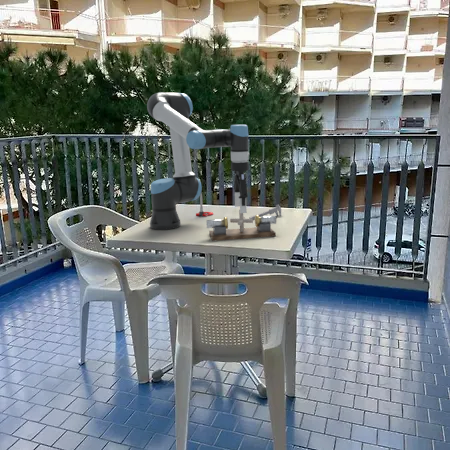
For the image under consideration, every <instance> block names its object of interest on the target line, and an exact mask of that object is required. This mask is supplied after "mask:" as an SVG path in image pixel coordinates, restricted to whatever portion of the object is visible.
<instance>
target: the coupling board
mask: <svg viewBox="0 0 450 450" xmlns="http://www.w3.org/2000/svg"><path fill="white" fill-rule="evenodd" d="M208 231H209V236H210V238H211V241H212V242H213V241H214V242H215V240H216V241H223V240H224V241H226V240H228V241H229V240H238V239H239V240H241V239H255V238H267V237H276V235H277V234H276V232H275V231H274V229H273V228H271V231H269V232H259V231H258V230H257V227H256V226H255V227H245V228H244V232H240V228H229V229H226V235H214V232H213V230H208Z"/></svg>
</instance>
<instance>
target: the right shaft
mask: <svg viewBox="0 0 450 450" xmlns="http://www.w3.org/2000/svg"><path fill="white" fill-rule="evenodd" d="M254 216H255V219H254V226H255V227H257V230H258V231H259V232H269V231H271V229H272V227H271V226H272V225H276V224H277V215H264V216H261V217H259V215H258V214H255V215H254Z"/></svg>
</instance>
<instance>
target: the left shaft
mask: <svg viewBox="0 0 450 450" xmlns="http://www.w3.org/2000/svg"><path fill="white" fill-rule="evenodd" d="M228 228H229V219H228V216H224V217H223V218H221V219H206V229H212V231H213V232H214V235H226V230H227V229H228Z"/></svg>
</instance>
